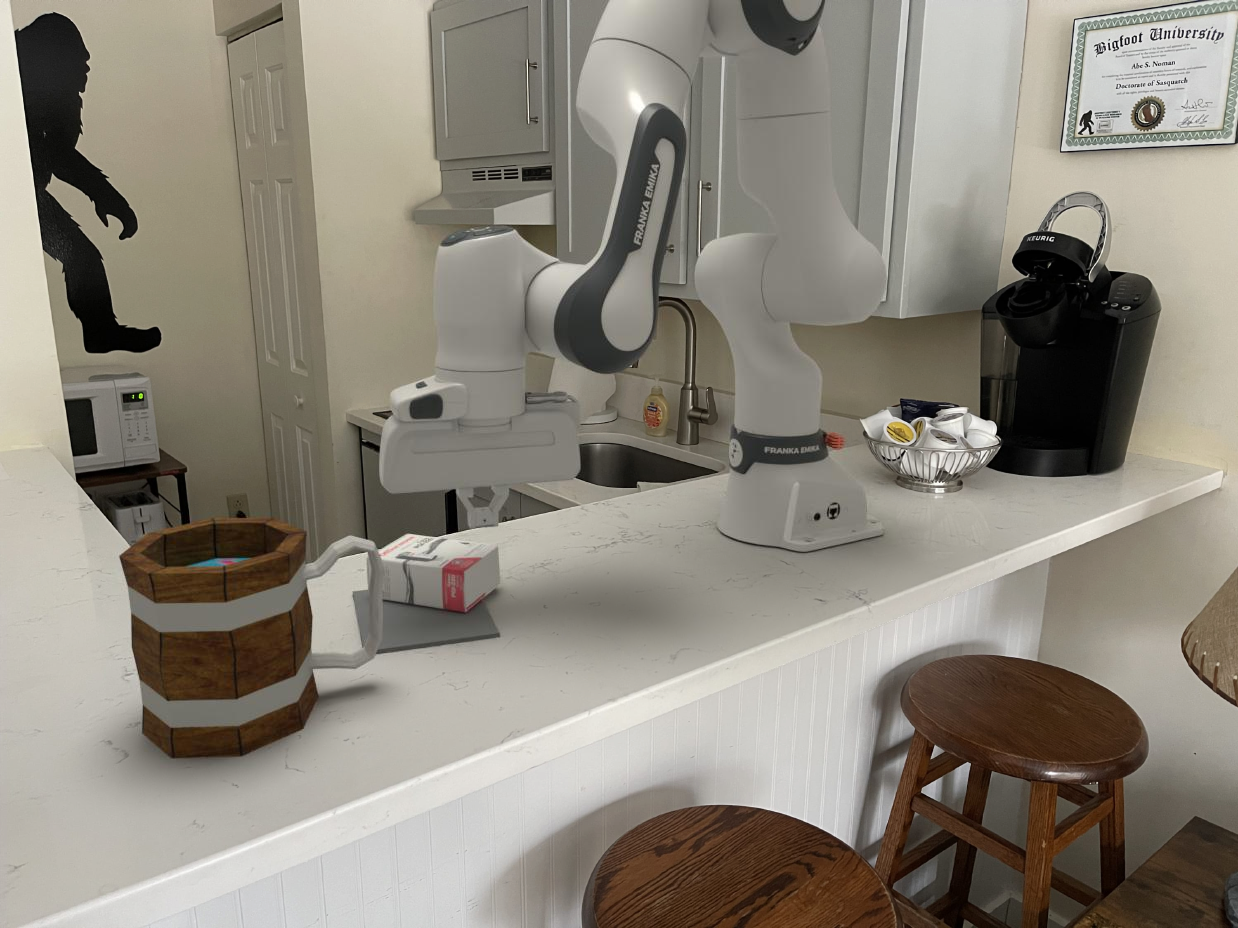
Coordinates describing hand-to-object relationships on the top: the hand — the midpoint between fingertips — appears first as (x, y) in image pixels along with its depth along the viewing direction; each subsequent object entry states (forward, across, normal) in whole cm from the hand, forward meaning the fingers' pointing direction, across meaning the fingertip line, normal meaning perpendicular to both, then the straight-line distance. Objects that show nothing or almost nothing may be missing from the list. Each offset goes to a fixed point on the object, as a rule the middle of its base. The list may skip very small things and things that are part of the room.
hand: (483, 526), depth 93 cm
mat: (+9, +6, -1) cm, 11 cm away
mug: (+10, +21, +14) cm, 27 cm away
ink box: (+6, 0, -2) cm, 6 cm away
